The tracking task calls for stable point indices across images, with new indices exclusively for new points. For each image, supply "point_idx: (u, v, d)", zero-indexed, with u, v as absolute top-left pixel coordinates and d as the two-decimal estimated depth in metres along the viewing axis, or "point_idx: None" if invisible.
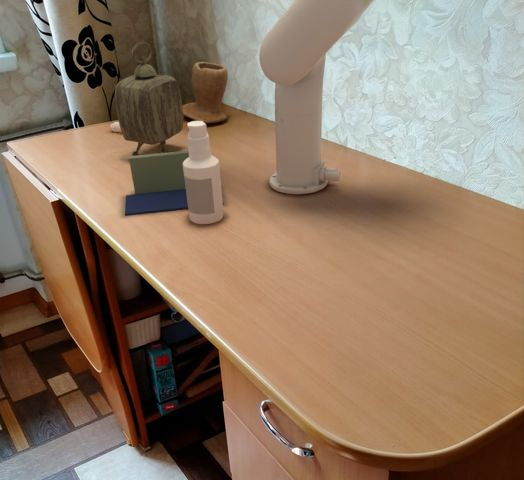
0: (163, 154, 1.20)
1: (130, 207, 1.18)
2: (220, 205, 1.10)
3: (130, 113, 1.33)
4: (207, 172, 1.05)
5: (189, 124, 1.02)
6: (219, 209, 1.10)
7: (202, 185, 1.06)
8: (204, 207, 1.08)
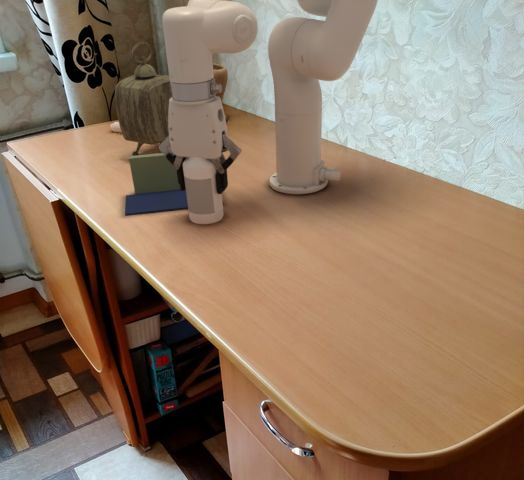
0: (163, 154, 1.20)
1: (130, 207, 1.18)
2: (220, 205, 1.10)
3: (130, 113, 1.33)
4: (207, 172, 1.05)
5: None
6: (219, 209, 1.10)
7: (202, 185, 1.06)
8: (204, 207, 1.08)
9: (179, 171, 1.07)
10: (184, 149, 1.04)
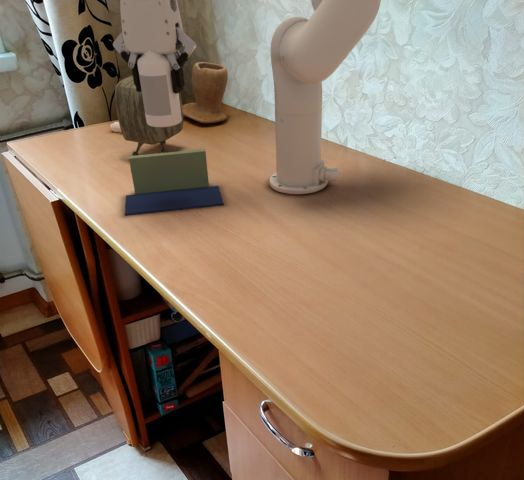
0: (163, 154, 1.20)
1: (130, 207, 1.18)
2: (177, 107, 1.08)
3: (130, 113, 1.33)
4: (161, 68, 1.02)
5: None
6: (176, 111, 1.08)
7: (157, 82, 1.03)
8: (160, 108, 1.06)
9: (134, 69, 1.05)
10: (138, 43, 1.01)
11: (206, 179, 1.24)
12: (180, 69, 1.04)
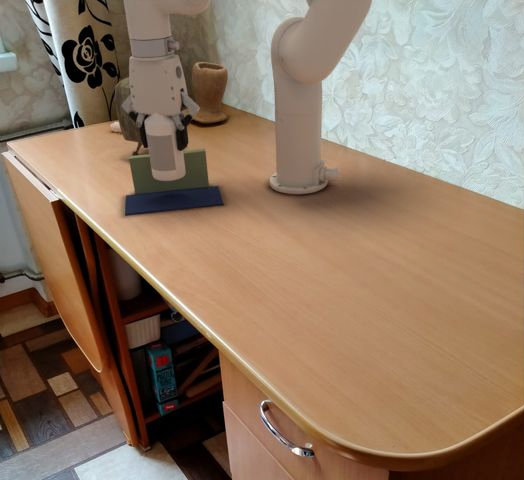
0: None
1: (130, 207, 1.18)
2: (181, 162, 1.15)
3: None
4: (167, 129, 1.09)
5: None
6: (180, 166, 1.15)
7: (162, 141, 1.10)
8: (165, 164, 1.13)
9: (141, 128, 1.12)
10: (145, 106, 1.08)
11: (206, 179, 1.24)
12: (184, 129, 1.11)
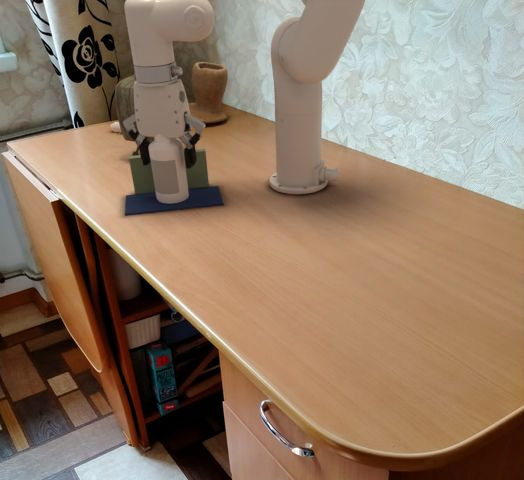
0: None
1: (130, 207, 1.18)
2: (185, 186, 1.18)
3: (130, 113, 1.33)
4: (171, 154, 1.12)
5: None
6: (184, 189, 1.18)
7: (166, 166, 1.13)
8: (169, 187, 1.16)
9: (141, 146, 1.14)
10: (149, 129, 1.11)
11: (206, 179, 1.24)
12: (193, 147, 1.12)
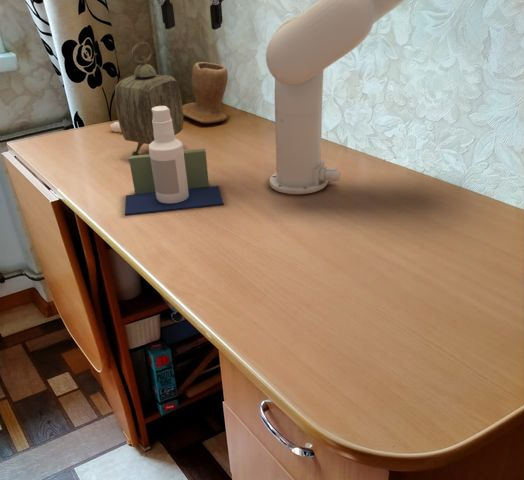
0: None
1: (130, 207, 1.18)
2: (185, 186, 1.18)
3: (130, 113, 1.33)
4: (171, 154, 1.12)
5: (153, 109, 1.10)
6: (184, 189, 1.18)
7: (166, 166, 1.13)
8: (169, 187, 1.16)
9: (163, 6, 1.08)
10: None
11: (206, 179, 1.24)
12: (219, 5, 1.06)
